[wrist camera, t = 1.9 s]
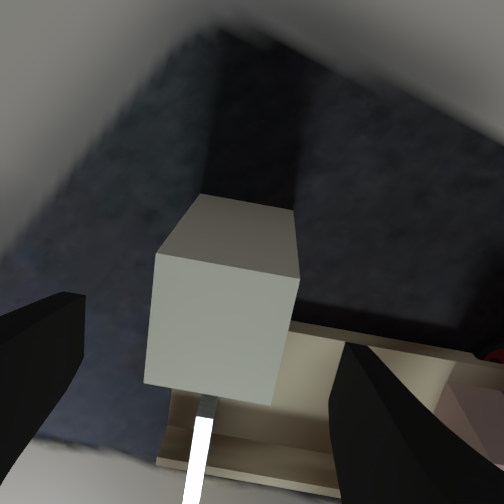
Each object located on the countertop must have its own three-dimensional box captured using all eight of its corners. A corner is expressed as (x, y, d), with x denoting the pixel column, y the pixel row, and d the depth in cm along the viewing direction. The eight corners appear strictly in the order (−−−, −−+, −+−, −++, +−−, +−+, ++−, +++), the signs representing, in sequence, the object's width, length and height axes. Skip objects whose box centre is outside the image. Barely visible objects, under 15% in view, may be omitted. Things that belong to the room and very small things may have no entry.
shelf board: (565, 369, 20) (611, 415, 17) (508, 478, 23) (540, 533, 20) (186, 301, 20) (171, 336, 17) (171, 418, 23) (155, 465, 20)
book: (293, 210, 18) (300, 279, 12) (273, 301, 20) (270, 405, 13) (200, 193, 18) (156, 253, 12) (188, 285, 20) (143, 383, 13)
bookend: (229, 340, 20) (213, 419, 15) (214, 425, 21) (195, 519, 17) (216, 337, 20) (196, 416, 15) (202, 423, 21) (180, 517, 17)
